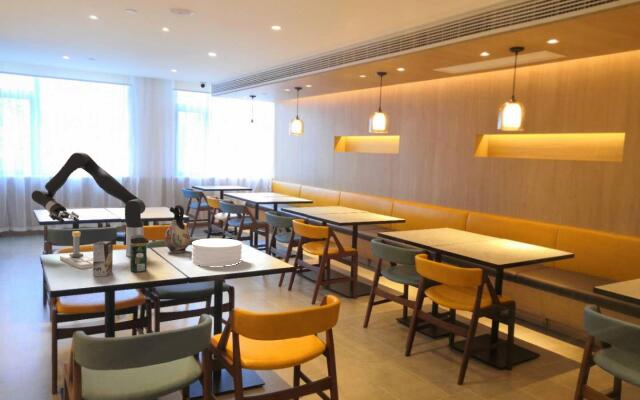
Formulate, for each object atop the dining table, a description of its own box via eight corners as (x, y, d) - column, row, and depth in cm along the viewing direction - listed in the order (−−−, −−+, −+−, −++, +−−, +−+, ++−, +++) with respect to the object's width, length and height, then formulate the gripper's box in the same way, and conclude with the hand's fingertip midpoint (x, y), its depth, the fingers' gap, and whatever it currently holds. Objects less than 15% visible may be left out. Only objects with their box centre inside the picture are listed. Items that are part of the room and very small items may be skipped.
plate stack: (248, 265, 269) (249, 245, 268) (200, 269, 254) (200, 248, 253) (231, 255, 293) (231, 237, 292) (185, 258, 278) (186, 239, 277)
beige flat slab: (60, 259, 262) (60, 255, 262) (80, 257, 270) (80, 253, 270) (80, 268, 243) (80, 264, 243) (102, 266, 251) (102, 261, 251)
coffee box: (106, 276, 230) (106, 244, 229) (92, 276, 230) (92, 243, 229) (112, 272, 240) (113, 240, 238) (99, 271, 239) (99, 240, 238)
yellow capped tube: (69, 256, 260) (69, 231, 258) (80, 255, 264) (80, 230, 263) (72, 257, 257) (72, 232, 256) (83, 256, 261) (83, 231, 260)
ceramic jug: (159, 251, 295) (160, 203, 293) (180, 248, 307) (181, 202, 304) (174, 255, 284) (175, 206, 282) (196, 252, 296) (197, 205, 293)
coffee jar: (129, 268, 248) (129, 233, 246) (145, 267, 252) (145, 233, 250) (130, 273, 239) (131, 236, 238) (147, 272, 243) (147, 236, 241)
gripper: (45, 203, 263) (60, 215, 255) (69, 203, 275) (84, 215, 268) (41, 215, 264) (56, 228, 257) (66, 214, 277) (81, 227, 269)
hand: (70, 221), depth 262 cm, fingers open, 8 cm apart
